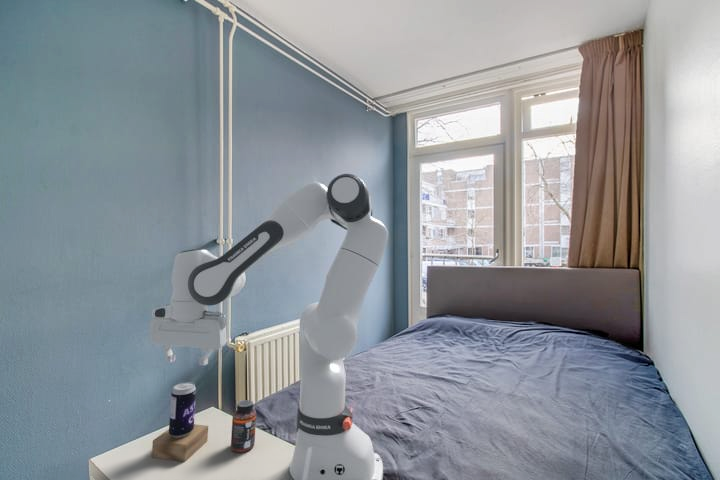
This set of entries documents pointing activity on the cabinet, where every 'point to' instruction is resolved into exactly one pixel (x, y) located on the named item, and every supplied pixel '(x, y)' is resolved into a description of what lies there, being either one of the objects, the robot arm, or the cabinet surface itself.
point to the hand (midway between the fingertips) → (186, 363)
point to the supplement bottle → (243, 427)
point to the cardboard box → (179, 444)
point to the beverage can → (182, 409)
